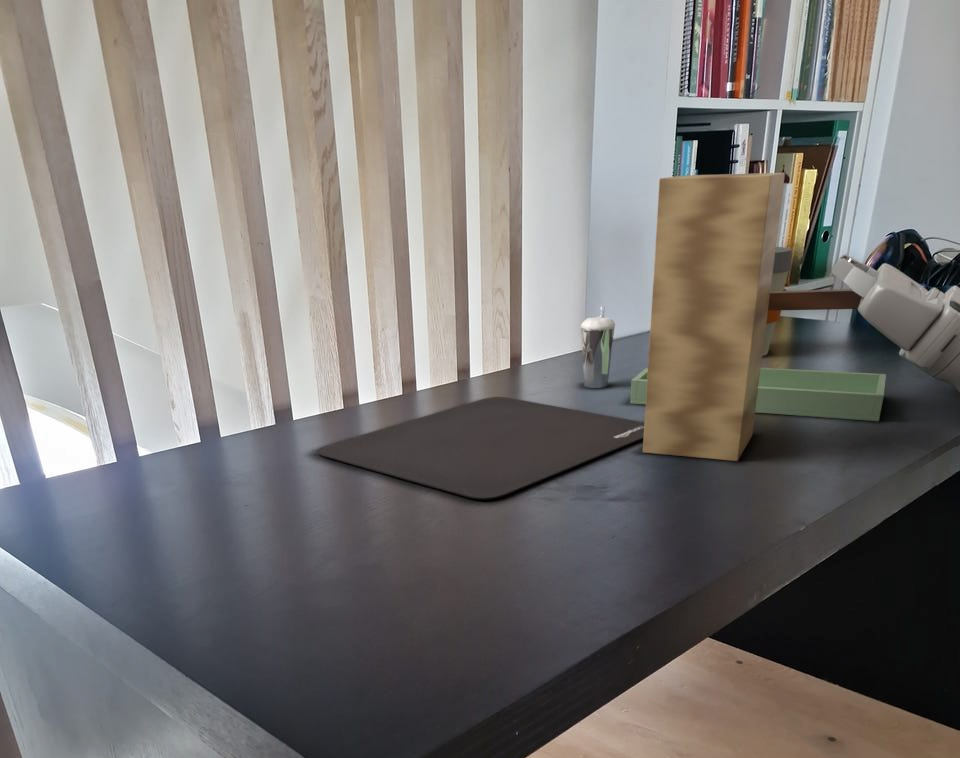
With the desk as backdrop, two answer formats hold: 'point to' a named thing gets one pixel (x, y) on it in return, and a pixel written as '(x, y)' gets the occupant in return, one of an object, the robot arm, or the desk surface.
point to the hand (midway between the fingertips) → (837, 262)
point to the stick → (814, 300)
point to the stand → (709, 311)
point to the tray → (807, 393)
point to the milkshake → (597, 350)
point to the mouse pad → (487, 446)
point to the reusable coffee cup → (777, 289)
